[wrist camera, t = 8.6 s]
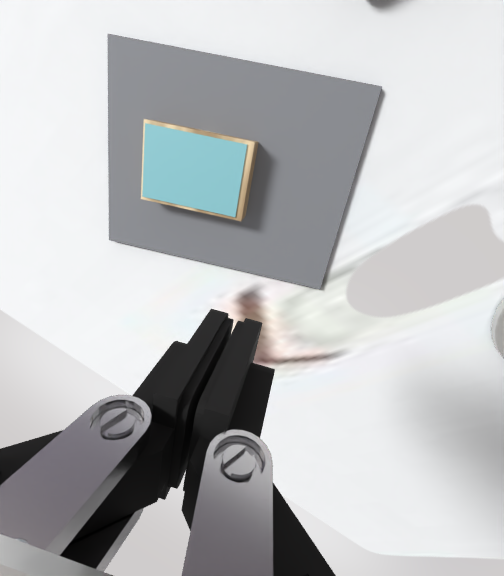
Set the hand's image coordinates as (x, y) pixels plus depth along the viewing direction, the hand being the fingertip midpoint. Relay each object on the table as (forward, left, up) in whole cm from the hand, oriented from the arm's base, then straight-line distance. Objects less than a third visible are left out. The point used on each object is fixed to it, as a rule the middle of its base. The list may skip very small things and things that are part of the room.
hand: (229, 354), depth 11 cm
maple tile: (+4, -2, -23) cm, 24 cm away
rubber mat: (+6, -2, -25) cm, 26 cm away
